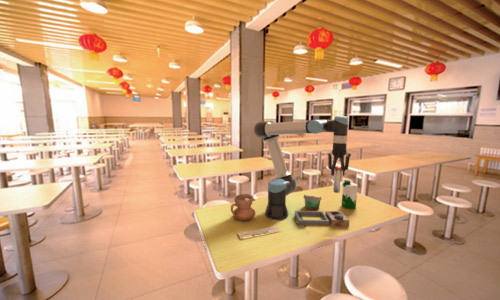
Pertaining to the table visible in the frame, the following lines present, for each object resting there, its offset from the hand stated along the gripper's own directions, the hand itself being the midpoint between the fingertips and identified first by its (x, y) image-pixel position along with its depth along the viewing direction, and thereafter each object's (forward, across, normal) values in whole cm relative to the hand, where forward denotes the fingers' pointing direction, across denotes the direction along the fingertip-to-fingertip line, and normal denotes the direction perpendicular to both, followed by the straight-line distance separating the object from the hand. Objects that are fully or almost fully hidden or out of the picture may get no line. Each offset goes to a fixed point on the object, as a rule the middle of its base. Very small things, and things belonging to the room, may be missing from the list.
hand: (337, 180), depth 128 cm
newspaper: (+27, -48, -16) cm, 57 cm away
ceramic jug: (+27, -58, +2) cm, 64 cm away
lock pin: (+7, 0, 0) cm, 7 cm away
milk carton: (+26, +17, +20) cm, 38 cm away
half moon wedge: (+26, -11, +15) cm, 33 cm away
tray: (+26, -15, -1) cm, 30 cm away
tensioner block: (+26, 0, -3) cm, 26 cm away
